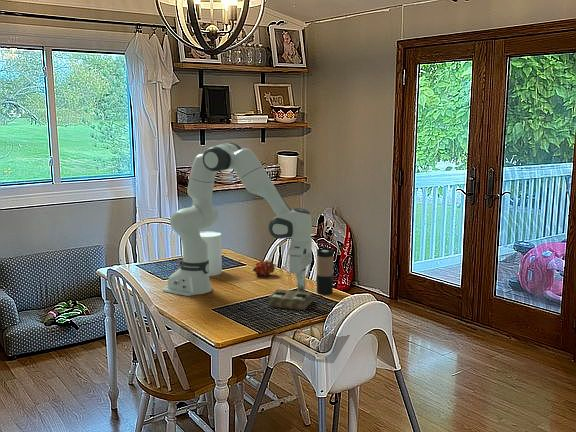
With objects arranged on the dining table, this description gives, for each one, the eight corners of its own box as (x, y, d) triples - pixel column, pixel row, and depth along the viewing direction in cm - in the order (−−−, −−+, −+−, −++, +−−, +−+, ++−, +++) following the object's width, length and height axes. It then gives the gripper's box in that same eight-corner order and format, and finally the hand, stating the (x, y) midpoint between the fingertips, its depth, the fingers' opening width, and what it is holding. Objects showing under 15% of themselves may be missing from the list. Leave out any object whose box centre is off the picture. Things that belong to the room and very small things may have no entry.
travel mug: (324, 289, 282) (324, 247, 278) (336, 292, 276) (337, 250, 273) (312, 292, 276) (313, 249, 273) (325, 296, 271) (325, 252, 268)
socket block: (268, 306, 257) (268, 296, 257) (277, 297, 269) (277, 288, 268) (304, 310, 253) (304, 300, 252) (312, 301, 264) (312, 291, 263)
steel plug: (296, 291, 257) (296, 268, 255) (298, 289, 260) (298, 266, 258) (303, 291, 256) (303, 268, 254) (305, 289, 259) (305, 267, 257)
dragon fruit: (277, 277, 306) (254, 283, 302) (270, 265, 312) (248, 270, 307) (278, 267, 300) (256, 273, 296) (272, 254, 305) (250, 260, 301)
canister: (190, 274, 306) (189, 235, 303) (203, 267, 319) (202, 230, 315) (213, 277, 301) (212, 237, 298) (226, 270, 314) (225, 232, 310)
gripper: (301, 241, 265) (300, 272, 268) (286, 251, 246) (286, 284, 249) (314, 242, 264) (314, 273, 266) (301, 252, 244) (301, 286, 247)
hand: (301, 278), depth 257 cm, fingers closed on steel plug, 3 cm apart
